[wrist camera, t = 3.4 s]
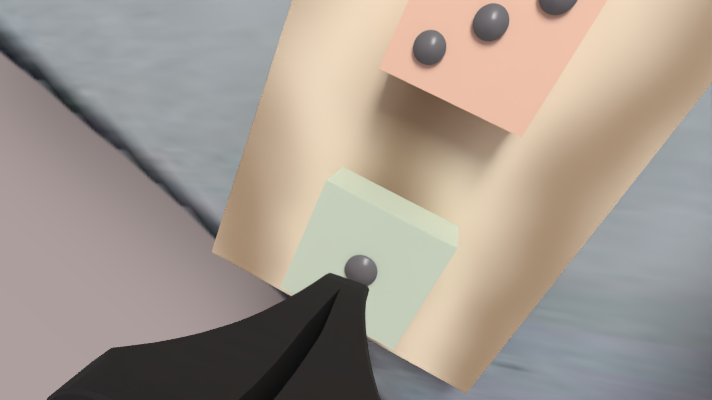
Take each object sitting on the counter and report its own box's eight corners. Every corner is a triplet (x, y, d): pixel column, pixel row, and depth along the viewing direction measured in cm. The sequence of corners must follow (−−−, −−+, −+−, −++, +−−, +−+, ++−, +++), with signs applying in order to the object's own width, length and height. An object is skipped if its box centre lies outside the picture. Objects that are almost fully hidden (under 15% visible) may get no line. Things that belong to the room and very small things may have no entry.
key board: (1068, -436, 9) (1221, -564, 7) (466, 364, 20) (466, 393, 18) (518, -600, 10) (529, -743, 9) (233, 236, 21) (211, 251, 19)
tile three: (603, -19, 12) (631, -35, 10) (514, 128, 14) (522, 138, 12) (456, -82, 12) (455, -111, 11) (389, 68, 14) (378, 68, 12)
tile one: (458, 226, 15) (457, 250, 13) (400, 319, 17) (392, 353, 15) (342, 166, 15) (325, 181, 13) (300, 264, 17) (278, 289, 15)
